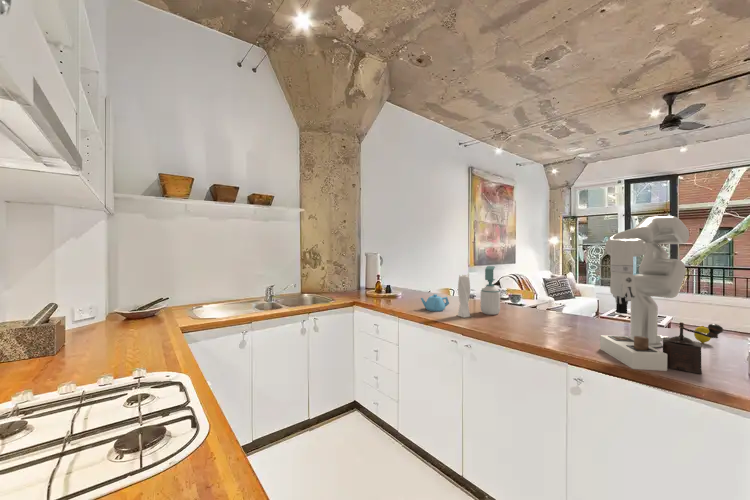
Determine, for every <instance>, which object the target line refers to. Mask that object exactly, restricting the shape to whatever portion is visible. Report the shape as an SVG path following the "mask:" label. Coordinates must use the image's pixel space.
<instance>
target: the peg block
mask: <svg viewBox="0 0 750 500" xmlns="http://www.w3.org/2000/svg"><path fill="white" fill-rule="evenodd" d="M615 337H622V338H626V339H627V340H617V339H615ZM599 349H600V350H601V351H603V352H604V353H606V354H607V355H609V356H611V357H612V358H614V359H616V360H618V361H619V362H621V363H623V365H626V366H627V367H629V368H630V369H632V370H646V371H647V370H648V371H662V372H663V371H665V372H667V371H668V368H667V354H666V353H664V352H663V351H661V350H659V349H657V348H656V347H651V346H648V350H637V349H635V348H634V339H633V338H631V337H630V335H629V336H628V335H607V334H606V335H603V334H600V335H599Z"/></svg>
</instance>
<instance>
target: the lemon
mask: <svg viewBox="0 0 750 500" xmlns="http://www.w3.org/2000/svg"><path fill="white" fill-rule="evenodd" d="M694 330H695V331H698V332H702V333H705V334H708V333H709V329H708V327H707V326H704V325H701V326H698V327H696V328H695V329H694ZM693 335H694V337H695V338H694V339H696V341H697V342H699V343H700V344H705V343H707V342H710V340H711V339H712V338H710V337H706V336H704V335H700V334H697V333H693Z"/></svg>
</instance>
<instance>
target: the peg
mask: <svg viewBox="0 0 750 500" xmlns="http://www.w3.org/2000/svg"><path fill="white" fill-rule="evenodd" d="M648 343H649V339H648V338H647V337H642V336H634V348H635V349H637V350H648Z"/></svg>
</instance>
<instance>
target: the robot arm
mask: <svg viewBox="0 0 750 500" xmlns="http://www.w3.org/2000/svg"><path fill="white" fill-rule="evenodd" d="M689 239H690V231H689V228H688V227H687V226H686V224H685V223H684V222H683V221H682V220H681V219H680V218H679V217H677V216H675V215H674V216H672V215H667V216H652V217H650V216H649V217H646V218H644V219H642V220H641V221H640V222H639V223H638V224H637V225H636V226H634V227H632V228H629V229H626V230H623V231H620V232H617V233H615V234H613V235H612V236H610V237H609V238H608V239H607V240H606V243H605V245H604V250H605V252H606V254H607V255H609V256H610V279H609V280H610V281H609V283H610V284H609V290H610V291H609V293H611V295H612V297H613V298H614V299H615V304H616V305H615V306H616V308H615V309H616V310H615V311H616V314H621V315H622V314H623V315H625V314H627V313H628V304H629V302H630V321H629V322H630V327H629V328H630V329H629V332H630V335H629V337H631V338H633V339H634V336H642V337H647V338H648V339H649V343H648V346H651V347H653V348H661V347H663V338H664V337H665V336H663V335H659V334H658V308H659V307H658V304H657V303H656V301H655V300H654V299H653V297H657V298H664V299H665V298H666V299H673V298H676V297H677V296H678V294H679V293H680V290H681V287H682V285H683V282H684V278H685V275H686V266H685V263H684V262H683V261H682V260H680V259H676V258H669V254H668V252H667V251H666V250H665V249H664V248H663V247H662V246H660V245H682V244H685V243H687V242H688V241H689ZM642 256H643V258H642V259H641V263H640V264H639V267H638V273H639V274H634V257H635V258H636V257H638V258H639V257H642Z"/></svg>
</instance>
